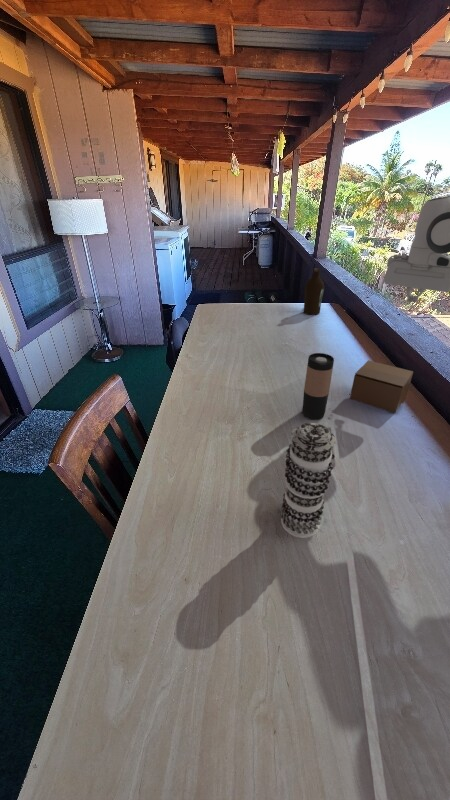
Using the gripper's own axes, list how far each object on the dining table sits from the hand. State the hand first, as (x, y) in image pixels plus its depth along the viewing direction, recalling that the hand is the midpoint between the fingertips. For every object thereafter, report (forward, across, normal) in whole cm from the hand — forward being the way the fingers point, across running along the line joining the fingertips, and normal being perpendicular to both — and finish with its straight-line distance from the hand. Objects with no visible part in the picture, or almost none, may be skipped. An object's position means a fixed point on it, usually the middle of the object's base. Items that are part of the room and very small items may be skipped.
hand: (412, 301), depth 116 cm
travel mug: (+31, -14, -36) cm, 50 cm away
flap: (+20, 0, -12) cm, 24 cm away
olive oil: (+31, -63, +64) cm, 95 cm away
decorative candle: (+31, +3, -78) cm, 84 cm away
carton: (+31, 0, -16) cm, 35 cm away
